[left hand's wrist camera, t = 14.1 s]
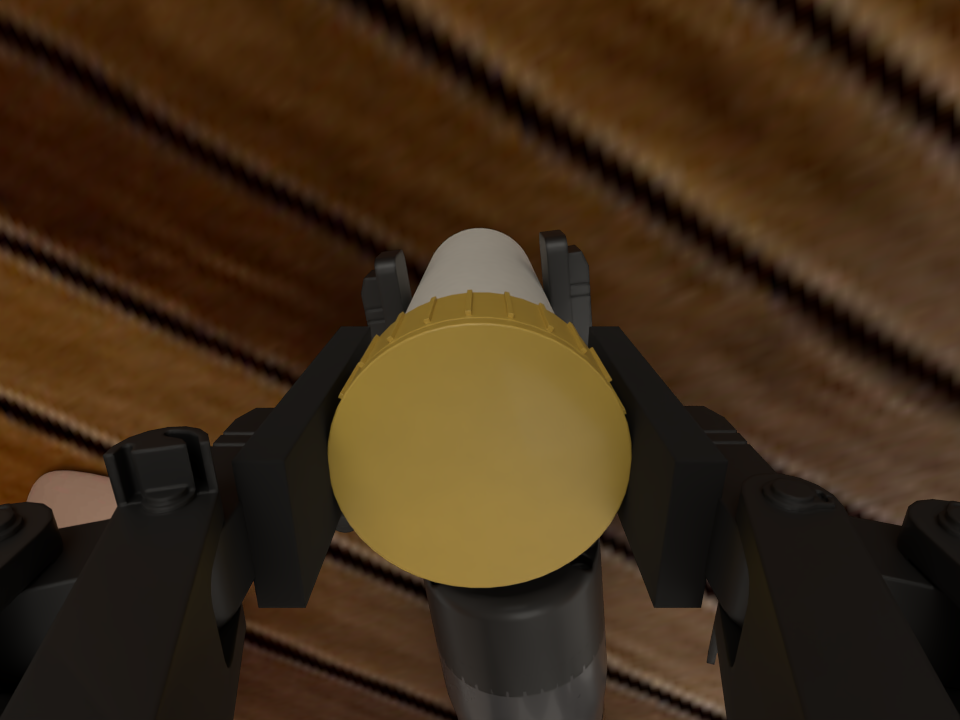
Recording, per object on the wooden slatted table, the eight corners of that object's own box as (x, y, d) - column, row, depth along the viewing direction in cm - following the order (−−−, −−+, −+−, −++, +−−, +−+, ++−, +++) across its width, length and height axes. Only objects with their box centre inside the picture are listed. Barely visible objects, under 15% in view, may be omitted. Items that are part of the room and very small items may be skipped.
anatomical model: (-80, 514, 24) (174, 519, 25) (-6, 467, 28) (215, 472, 28) (4, 719, 29) (217, 722, 29) (58, 655, 33) (247, 659, 33)
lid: (296, 404, 12) (257, 456, 10) (492, 229, 11) (495, 247, 9) (469, 560, 14) (467, 635, 11) (660, 424, 12) (697, 480, 10)
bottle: (443, 213, 24) (388, 298, 9) (548, 247, 24) (645, 375, 10) (414, 316, 25) (330, 519, 11) (513, 345, 26) (554, 576, 12)
